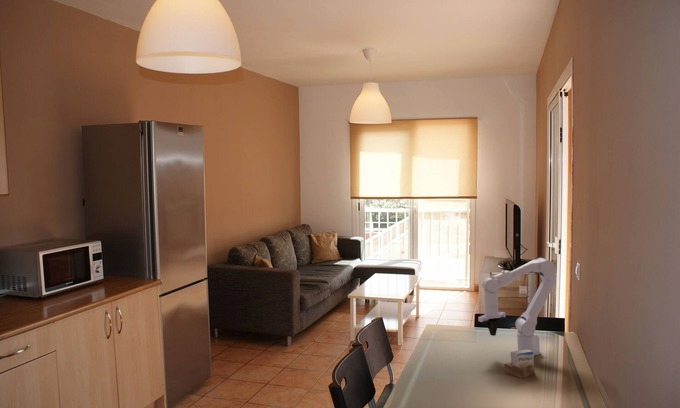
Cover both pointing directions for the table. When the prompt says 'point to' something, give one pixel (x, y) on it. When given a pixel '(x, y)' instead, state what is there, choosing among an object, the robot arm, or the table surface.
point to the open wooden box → (519, 370)
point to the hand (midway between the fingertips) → (493, 335)
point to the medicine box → (522, 358)
